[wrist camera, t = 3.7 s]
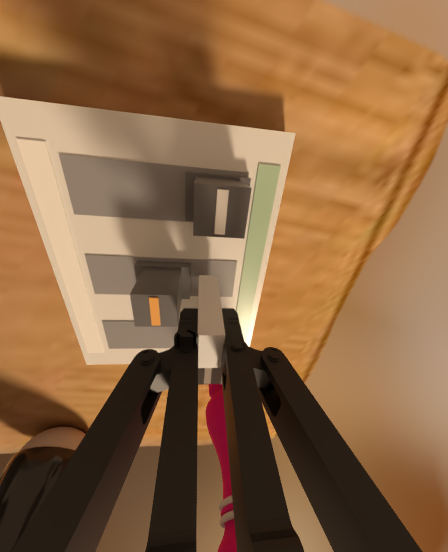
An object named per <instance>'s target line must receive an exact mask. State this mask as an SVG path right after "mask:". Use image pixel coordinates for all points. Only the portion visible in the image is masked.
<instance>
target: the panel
mask: <svg viewBox="0 0 448 552" xmlns="http://www.w3.org/2000/svg"><path fill="white" fill-rule="evenodd" d="M0 121H1V123H2V126H3V129H4V132H5V135H6V138H7V140H8V143H9V146H10V149H11V152H12V155H13V157H14V160H15V163H16V166H17V169H18V172H19V174H20V177H21V180H22V183H23V186H24V189H25V191H26V194H27V197H28V200H29V203H30V206H31V208H32V211H33V214H34V217H35V220H36V223H37V225H38V228H39V231H40V234H41V237H42V240H43V242H44V245H45V248H46V251H47V254H48V257H49V259H50V262H51V265H52V268H53V271H54V274H55V276H56V279H57V282H58V285H59V288H60V291H61V293H62V296H63V299H64V302H65V305H66V308H67V310H68V313H69V316H70V319H71V322H72V325H73V327H74V330H75V333H76V336H77V339H78V342H79V344H80V347H81V350H82V353H83V356H84V359H85V361H86V364H87V365H94V364H130V363H131V362H132V360H133V359H134V357H135V356H136V355H137V354H138V353H139V352H141V351H142V350H146V349H153V350H156V351H157V352H158V353H160V352H163V351H166V350H169V349H170V348H172V347H173V346H174V335H175V333H176V332H177V331H178V327H135V324H134V318H133V311H132V305H131V299H130V293H131V291H132V289H133V287H134V285H135V283H136V275H135V268H134V265H135V263H136V262H137V261H151V262H175V263H191V280H190V299H182V300H181V307H180V312H181V311H182V310H183V309H184V308H198V286H199V275H208V276H217V277H218V285H219V292H220V299H221V307H222V308H234V309H235V311H236V312H237V313H238V317H239V322H240V326H241V330H242V335H243V339H244V342H246V343H247V345H248V346H249V347H250V343H251V338H252V333H253V329H254V324H255V319H256V315H257V310H258V305H259V301H260V296H261V291H262V287H263V282H264V278H265V273H266V268H267V264H268V259H269V254H270V250H271V245H272V240H273V236H274V231H275V226H276V222H277V217H278V213H279V208H280V203H281V199H282V194H283V189H284V185H285V180H286V175H287V171H288V166H289V161H290V157H291V152H292V148H293V143H294V138H295V134H296V133H290V132H282V131H274V130H266V129H258V128H250V127H242V126H234V125H226V124H218V123H210V122H202V121H193V120H185V119H177V118H169V117H161V116H153V115H145V114H137V113H129V112H121V111H113V110H105V109H97V108H89V107H81V106H73V105H65V104H57V103H49V102H41V101H33V100H25V99H17V98H9V97H1V96H0ZM186 171H187V172H198V173H209V174H219V175H230V176H240V177H249V178H251V182H250V187H251V188H252V189H251V196H250V203H249V210H248V217H247V224H246V230H245V237H244V239H242V238H224V237H207V236H193V221H185V172H186ZM179 318H180V314H179ZM178 325H179V321H178Z"/></svg>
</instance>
